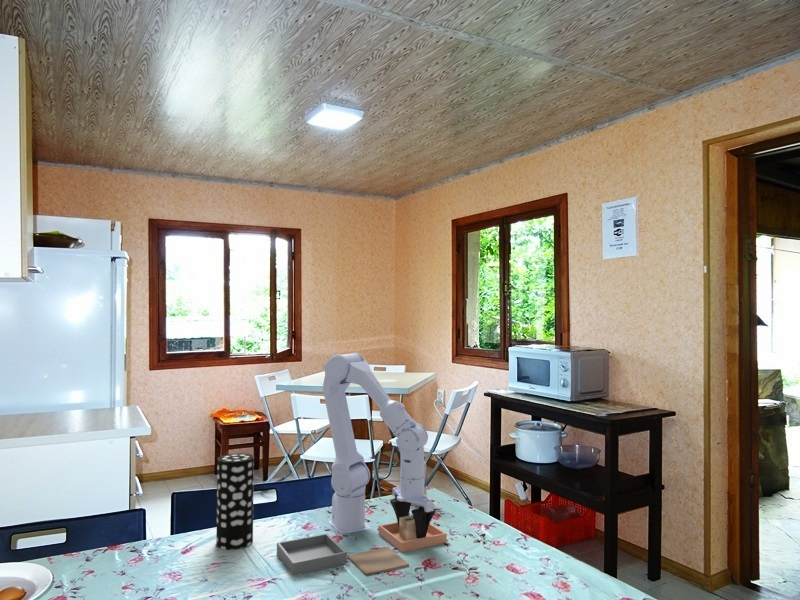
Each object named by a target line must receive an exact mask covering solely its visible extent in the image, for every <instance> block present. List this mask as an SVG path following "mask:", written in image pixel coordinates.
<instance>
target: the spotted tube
mask: <svg viewBox="0 0 800 600" xmlns="http://www.w3.org/2000/svg"><path fill="white" fill-rule="evenodd" d="M254 467H255V456H254V454H250V453H241V452H240V453H239V452H238V453H229V454H224V455H223V454H222V455H221V456H219V457H217V467H216V469H217V472H216V474H217V475H216V476H217V477H216V478H217V480H216V483H217V485H216V533H215V534H216V535H215V539H216V545H215V546H216V547H217V548H218V549H221V550H227V551H229V550H230V551H233V550H240V549H244V548H246V547H249V546H250V545H252V544H253V542H254V488H255V487H254V481H255V480H254V478H255V477H254V475H255V473H254V472H255V469H254Z"/></svg>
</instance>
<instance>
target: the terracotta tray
mask: <svg viewBox="0 0 800 600" xmlns="http://www.w3.org/2000/svg"><path fill="white" fill-rule="evenodd" d="M378 535H379V536H381V537H382V538H383V539H384V540H386V542H388V543H389V544H391V545H392V546H393V547H394V548H395V549H397V550H399V551H400V552H401V553H403V552H404V553H405V552H409V551H413V550H418V549H421V548H426V547H427V548H428V547H430V546H431V547H432V546H436V545H442V544H445V543H447V533H446V532H445V531H443V530H442V529H440V528H438V527H437V526H436V525H433V524H432V523H431V522H430V524H429V527H428V530H427V534H426V537H423V538H418V539H414V540H409V541H405V540H404V539H402V538H401V537H400V536H399V526H398V522H397V521H395V522H390V523H385V524H379V525H378Z"/></svg>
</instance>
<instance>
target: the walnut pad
mask: <svg viewBox="0 0 800 600" xmlns="http://www.w3.org/2000/svg"><path fill="white" fill-rule="evenodd" d="M348 559H349V561H350V562H352V564H354V565H355V566H356V568H358V569H359V571H360V572H362V573H363V574H364V576H366V577H367V576H372V575H376V574H381V573H384V572H388V571H389V572H390V571H393V570H398V569H403V568H408V567H409V566H410V564H409V562H407V561H406V560H405V559H404V558H402V557H401V556H400V555H399V554H398V553H396V552H395V551H394V550H392V549H391V548H390V547H388V546H386V547H381V548H375V549H372V550H367V551H362V552H357V553H353V554H347V560H348Z"/></svg>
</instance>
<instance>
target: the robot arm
mask: <svg viewBox="0 0 800 600" xmlns="http://www.w3.org/2000/svg"><path fill="white" fill-rule="evenodd" d="M370 367H371V366H370V365H369V362H367V361H366V360H365V359H364V357H363V355H361V354H360V353H358V352H351V353H345V354H334V355H331V356H330V357H329V358H328V360H327V361H326V363H325V364H324V366H323V370H324V380H323V384H322V392H323V396H324V401H325V402H324V403H325V408H326V412H327V417H328V422H329V428H330V432H331V433H330V434H331V436H332V437H331V438H332V443H333V446H334V447H333V448H334V452H335V453H334V454H335V459H334V461H333V462H332V465H331V474H332V475H331V481H330V482H331V487H332V489H333V491H334V493H333V494H332V497H331V498H332V499H331V520H328V523H329V524H330V525H331V526H332V527H334V529H336V531H338V532H339V533H340V534H342V535H343V534H344V535H346V534H349V533H350V534H351V533H354V532H359V531H365V530H366V531H367V530H370V529H371V528H372V527H370V526H369V525H368V524H367V523H366V487H367V486H366V485H368V484H369V482H370V479H371V471H370V469H369V467H368V466H367V464H366V462H365V459H364V456H363V454H361V453H360V452H359V451H358V450H357V449H358V448H357V445H356V439H355V434H354V430H353V424H352V419H351V415H350V410H349V405H348V401H347V400H348V399H347V395H346V390H347V389H348V388H349V386H350V385H351V384H354V385H359V387H360V388H362V389H363V390H364V392H365V393H366V394H367V395H368V396H369V397H370V399H371V400H373V402H374V403H375V404H376V406H378V408H379V417H380V418H381V419H382V421H384V423H385V424H386V426H387V427H388V429H390V431H391V432H392V433H393V434H394V436H395V437H396V438H395V444H396V446H397V448H398V449H399V451H400V478H399V480H400V482H399V483H400V486H396V487H392V496H393V497H394V498H392V499H391V498H390V500H389V502H390V503H389V504H391V506H392V509H393V511H394V514H395V517H396V522H398V526H399V518H400V517H405V516H410V510H411V514H412V515H413V517H414V521H415V526H416V537H417V539H418V538H423V537H426V534H427V530H428V527H429V524H430V523H431V521H432V519H433V516H434V515H435V514H436V509H435V508H434V507H435V506H434V502H433V501H431V500H430V498H429V497H427V494H426V495H425V494H424V461H425V445H426V444H427V443H428V440H429V435H428V434H429V433H428V431H427V429H426V428H425V426H424V425H422V424H420V423H417V421H416V420H415V419H413V418H412V417H411V416H410V414H409V413H408V412H407V411H406V409H405V408H406V406H405V404H403V402H401V403H400V402H399V401H398V400H393V399H391V397H390V396H389V394H388V393H387V392H386V390H385V389H384V387H383V386H382V385H381V383H380V382H379V380H378V379H377V377H376V376H375V375H374V373H373V372H372V370H371V368H370ZM411 503H412V504H414V505H416V507H418V508H415V509H411V507H412V506H411Z"/></svg>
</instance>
